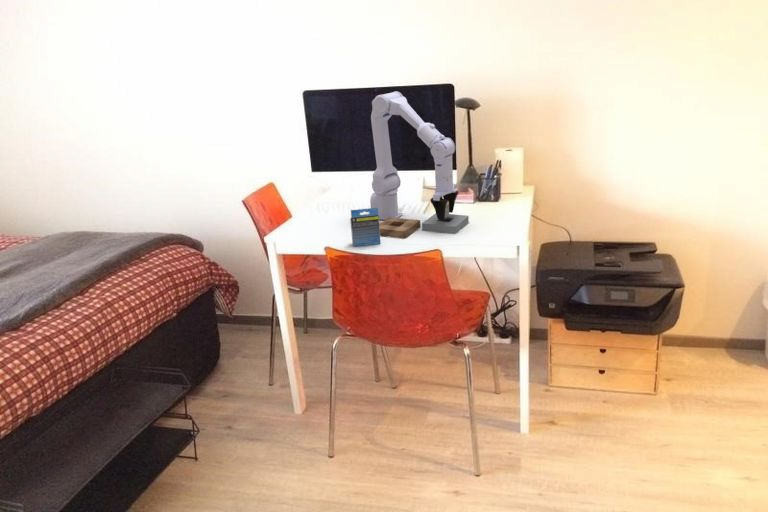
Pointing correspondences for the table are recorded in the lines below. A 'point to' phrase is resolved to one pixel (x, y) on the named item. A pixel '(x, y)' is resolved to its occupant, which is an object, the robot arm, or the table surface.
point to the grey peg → (446, 213)
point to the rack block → (445, 223)
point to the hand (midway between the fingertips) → (445, 215)
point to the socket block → (398, 227)
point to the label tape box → (365, 227)
